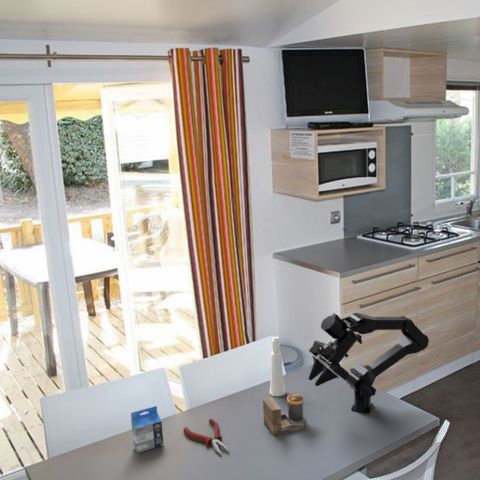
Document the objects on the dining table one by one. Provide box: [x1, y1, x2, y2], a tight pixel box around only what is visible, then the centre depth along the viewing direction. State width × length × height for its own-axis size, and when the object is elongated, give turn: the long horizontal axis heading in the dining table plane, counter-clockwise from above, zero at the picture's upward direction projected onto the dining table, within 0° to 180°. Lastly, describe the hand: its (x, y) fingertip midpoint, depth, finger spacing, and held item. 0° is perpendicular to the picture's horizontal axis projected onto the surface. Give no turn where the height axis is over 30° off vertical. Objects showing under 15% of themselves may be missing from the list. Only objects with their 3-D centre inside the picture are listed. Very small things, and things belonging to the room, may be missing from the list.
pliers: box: [183, 418, 231, 456], centre depth 187 cm, size 12×20×3 cm, turn 29°
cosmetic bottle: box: [268, 336, 287, 397], centre depth 214 cm, size 6×6×22 cm
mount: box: [262, 397, 306, 437], centre depth 192 cm, size 12×8×9 cm
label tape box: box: [130, 405, 165, 454], centre depth 184 cm, size 9×4×12 cm, turn 118°
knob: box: [285, 393, 308, 424], centre depth 194 cm, size 5×6×8 cm
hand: (312, 382), depth 194 cm, fingers open, 4 cm apart
